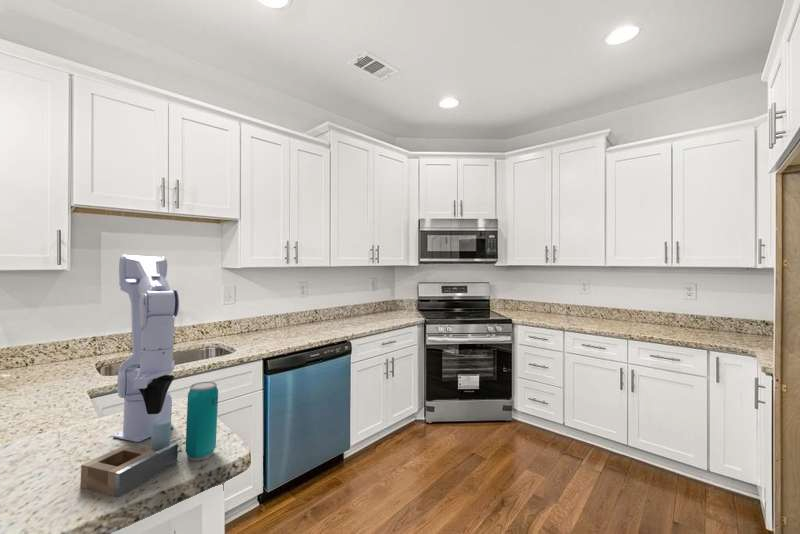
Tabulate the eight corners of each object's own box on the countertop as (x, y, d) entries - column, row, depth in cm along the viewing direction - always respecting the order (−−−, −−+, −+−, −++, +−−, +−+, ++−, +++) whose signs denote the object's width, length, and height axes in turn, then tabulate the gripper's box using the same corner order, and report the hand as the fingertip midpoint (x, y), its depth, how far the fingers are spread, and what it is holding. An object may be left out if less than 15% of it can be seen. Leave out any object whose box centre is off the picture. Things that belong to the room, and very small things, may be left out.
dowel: (160, 451, 80) (162, 419, 80) (173, 454, 79) (175, 421, 79) (146, 459, 76) (147, 425, 77) (159, 461, 76) (160, 427, 76)
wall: (173, 462, 76) (174, 442, 76) (177, 463, 75) (178, 443, 75) (114, 495, 64) (115, 472, 64) (118, 497, 64) (119, 473, 64)
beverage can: (219, 448, 82) (222, 381, 82) (210, 461, 76) (213, 389, 77) (191, 449, 81) (194, 381, 81) (180, 463, 75) (183, 389, 76)
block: (124, 465, 74) (125, 445, 74) (155, 472, 72) (156, 451, 72) (80, 487, 66) (81, 464, 66) (114, 495, 64) (115, 472, 64)
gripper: (151, 341, 84) (148, 401, 83) (116, 355, 69) (113, 428, 69) (185, 341, 85) (183, 400, 85) (158, 355, 71) (155, 426, 71)
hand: (154, 412), depth 77 cm, fingers closed
